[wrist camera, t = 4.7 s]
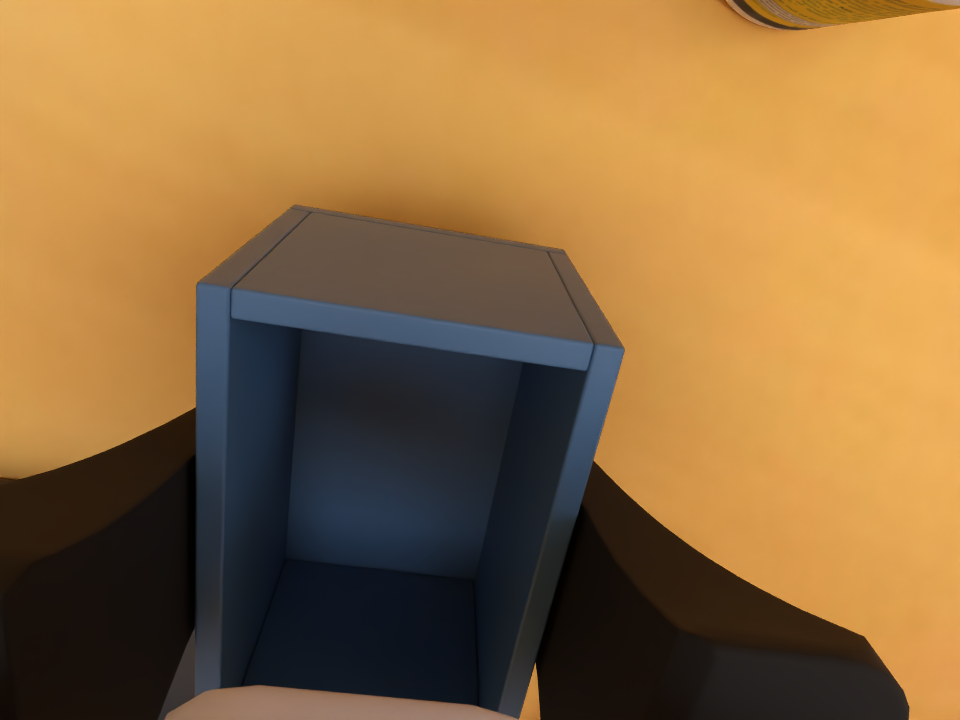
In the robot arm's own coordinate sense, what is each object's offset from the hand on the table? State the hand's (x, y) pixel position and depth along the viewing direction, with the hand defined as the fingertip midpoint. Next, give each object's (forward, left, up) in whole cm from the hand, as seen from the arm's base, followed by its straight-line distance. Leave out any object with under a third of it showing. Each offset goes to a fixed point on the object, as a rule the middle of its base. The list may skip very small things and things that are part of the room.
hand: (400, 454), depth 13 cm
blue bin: (0, 0, -1) cm, 1 cm away
